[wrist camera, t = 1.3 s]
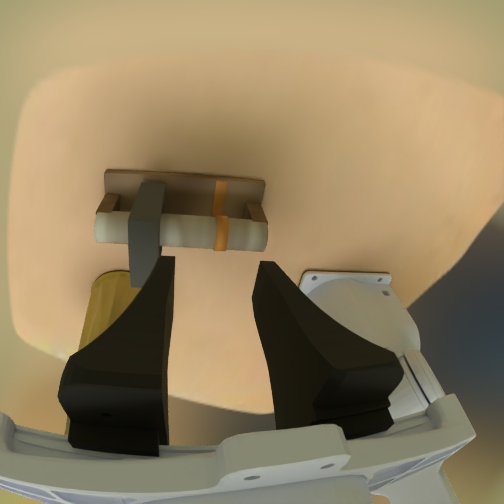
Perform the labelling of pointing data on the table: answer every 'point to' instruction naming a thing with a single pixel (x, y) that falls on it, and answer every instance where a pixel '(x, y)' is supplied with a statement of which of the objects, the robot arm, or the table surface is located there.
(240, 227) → the pipe stand
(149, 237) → the dark grey square frame
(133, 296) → the vase
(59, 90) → the table surface
